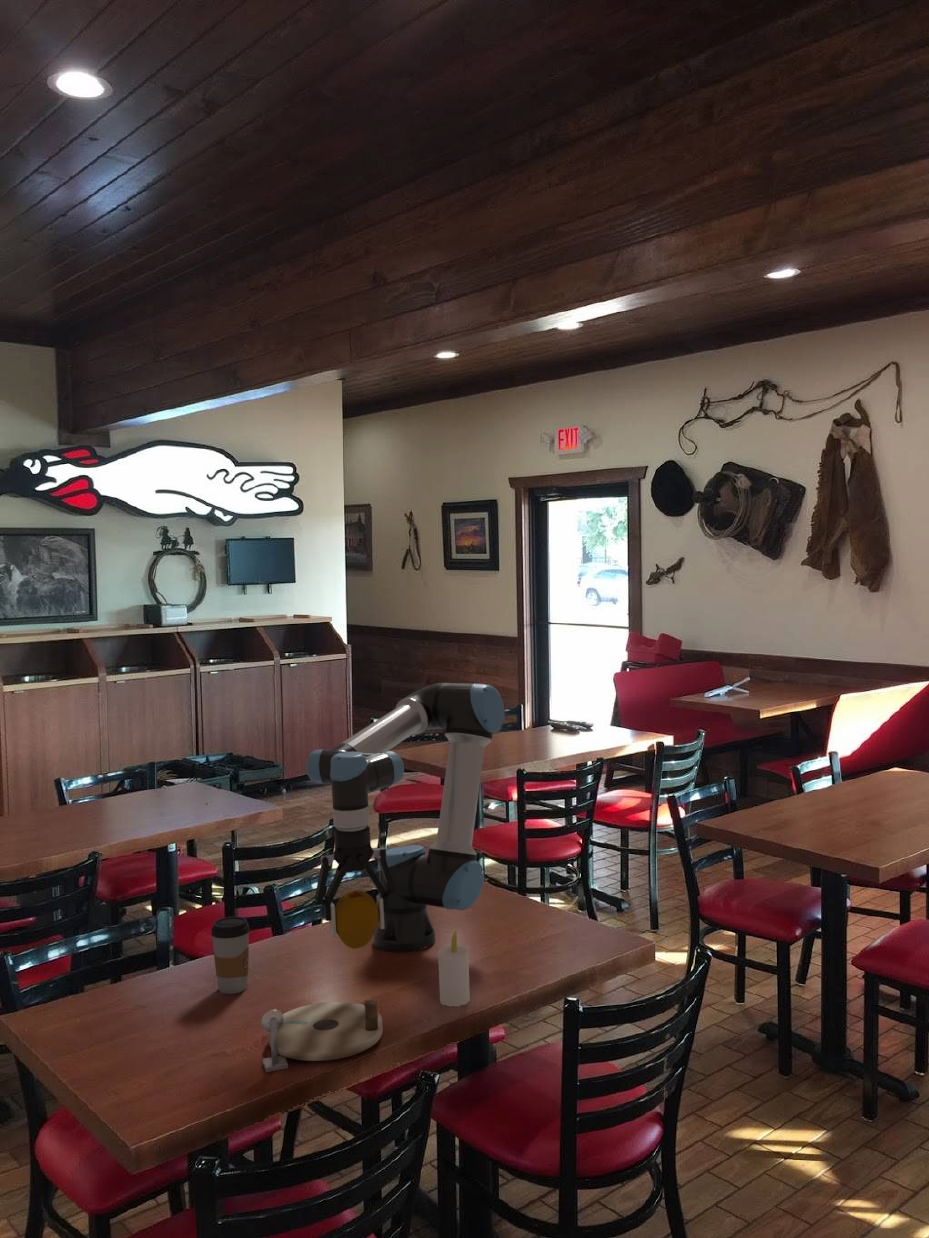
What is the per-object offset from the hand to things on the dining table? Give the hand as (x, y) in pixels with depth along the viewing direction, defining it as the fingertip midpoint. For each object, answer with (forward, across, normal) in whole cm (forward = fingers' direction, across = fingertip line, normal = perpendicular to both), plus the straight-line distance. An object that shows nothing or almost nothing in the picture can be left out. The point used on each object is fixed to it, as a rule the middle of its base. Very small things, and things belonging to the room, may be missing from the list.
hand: (357, 930), depth 223 cm
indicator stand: (+15, +22, +22) cm, 34 cm away
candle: (+16, -18, +8) cm, 25 cm away
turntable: (+15, +11, +16) cm, 24 cm away
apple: (+3, 0, 0) cm, 3 cm away
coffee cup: (+15, +25, -18) cm, 34 cm away
